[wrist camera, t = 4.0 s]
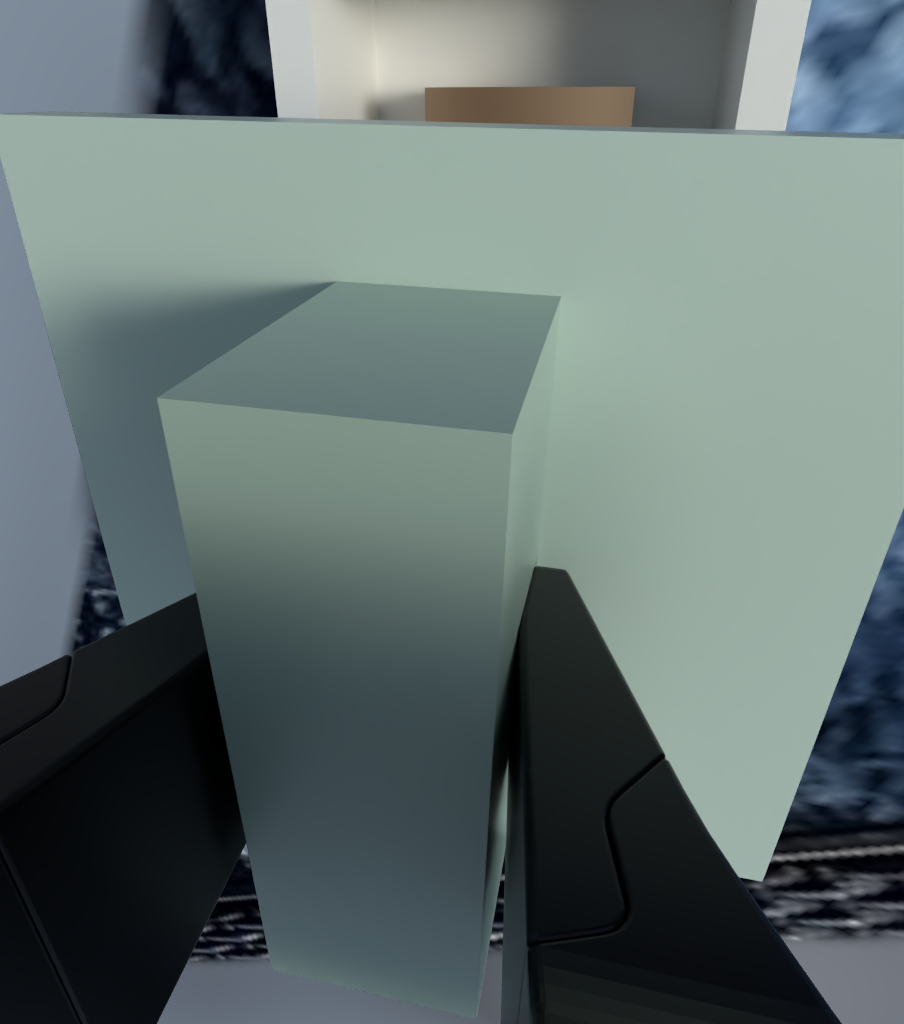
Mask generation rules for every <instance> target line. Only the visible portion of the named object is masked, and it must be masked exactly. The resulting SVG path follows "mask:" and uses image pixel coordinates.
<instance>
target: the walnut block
mask: <svg viewBox="0 0 904 1024" xmlns="http://www.w3.org/2000/svg"><path fill="white" fill-rule="evenodd" d="M634 97H635V86H624V87H428V88H425V121H429V122H467V123H505V124H543V125H581V126H619V127H631V125H632V115H633V106H634Z"/></svg>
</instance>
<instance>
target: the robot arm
mask: <svg viewBox="0 0 904 1024" xmlns="http://www.w3.org/2000/svg"><path fill="white" fill-rule="evenodd" d="M245 844H246V839H245V834H244V829H243V824H242V819H241V814H240V809H239V804H238V799H237V794H236V789H235V784H234V779H233V774H232V769H231V764H230V759H229V754H228V749H227V744H226V739H225V734H224V729H223V724H222V719H221V714H220V709H219V704H218V699H217V694H216V689H215V684H214V679H213V674H212V669H211V664H210V659H209V654H208V649H207V644H206V640H205V635H204V630H203V625H202V620H201V615H200V610H199V605H198V600H197V595H196V593H194V594H191V595H189V596H187V597H185V598H183V599H181V600H179V601H177V602H175V603H173V604H171V605H169V606H167V607H165V608H163V609H160V610H158V611H156V612H154V613H152V614H150V615H148V616H146V617H144V618H142V619H140V620H138V621H136V622H134V623H132V624H129V625H127V626H125V627H123V628H121V629H119V630H117V631H115V632H113V633H111V634H109V635H107V636H105V637H103V638H101V639H99V640H96V641H94V642H92V643H90V644H88V645H86V646H84V647H82V648H80V649H78V650H76V651H74V652H73V654H72V657H71V656H69V655H65V656H63V657H61V658H59V659H57V660H55V661H53V662H51V663H49V664H47V665H45V666H43V667H41V668H39V669H37V670H35V671H32V672H30V673H28V674H26V675H24V676H21V677H19V678H17V679H15V680H13V681H11V682H9V683H6V684H4V685H2V686H0V1024H157V1022H158V1020H159V1018H160V1016H161V1014H162V1012H163V1010H164V1008H165V1006H166V1004H167V1002H168V1000H169V998H170V996H171V994H172V992H173V990H174V988H175V986H176V984H177V982H178V980H179V978H180V976H181V974H182V972H183V970H184V968H185V966H186V964H187V961H188V959H189V957H190V955H191V953H192V951H193V949H194V947H195V945H196V943H197V941H198V939H199V937H200V935H201V933H202V931H203V929H204V927H205V925H206V923H207V921H208V919H209V917H210V915H211V913H212V911H213V909H214V907H215V905H216V903H217V901H218V899H219V897H220V895H221V893H222V891H223V889H224V887H225V884H226V882H227V880H228V878H229V876H230V874H231V872H232V870H233V868H234V866H235V864H236V862H237V860H238V858H239V856H240V854H241V852H242V850H243V848H244V846H245ZM501 999H502V1001H501V1024H842V1023H841V1022H840V1021H839V1019H838V1018H837V1017H836V1015H835V1014H834V1013H833V1011H832V1010H831V1008H830V1007H829V1005H828V1004H827V1003H826V1001H825V1000H824V998H823V997H822V995H821V994H820V993H819V991H818V990H817V988H816V987H815V985H814V984H813V983H812V981H811V980H810V978H809V977H808V975H807V974H806V973H805V971H804V970H803V968H802V967H801V965H800V964H799V963H798V961H797V960H796V958H795V957H794V955H793V954H792V953H791V951H790V950H789V948H788V947H787V946H786V944H785V943H784V941H783V940H782V938H781V937H780V935H779V934H778V933H777V931H776V930H775V928H774V927H773V925H772V924H771V923H770V921H769V920H768V918H767V917H766V915H765V914H764V913H763V911H762V910H761V908H760V907H759V905H758V904H757V903H756V901H755V900H754V898H753V897H752V895H751V894H750V893H749V891H748V890H747V888H746V887H745V885H744V884H743V883H742V881H741V880H740V878H739V877H738V875H737V874H736V872H735V871H734V869H733V868H732V866H731V865H730V863H729V862H728V860H727V859H726V857H725V856H724V854H723V853H722V851H721V850H720V848H719V847H718V845H717V844H716V842H715V841H714V839H713V838H712V836H711V835H710V833H709V832H708V830H707V828H706V826H705V825H704V823H703V821H702V820H701V818H700V816H699V814H698V813H697V811H696V809H695V807H694V806H693V804H692V802H691V801H690V799H689V797H688V795H687V794H686V792H685V790H684V788H683V786H682V785H681V783H680V781H679V779H678V777H677V775H676V773H675V771H674V769H673V767H672V766H671V764H670V762H669V761H668V760H666V756H665V753H664V751H663V749H662V748H661V746H660V744H659V742H658V740H657V738H656V736H655V734H654V732H653V731H652V729H651V727H650V725H649V723H648V721H647V719H646V717H645V716H644V714H643V712H642V710H641V708H640V706H639V704H638V702H637V701H636V699H635V697H634V695H633V693H632V691H631V689H630V687H629V686H628V684H627V682H626V680H625V678H624V676H623V674H622V672H621V671H620V669H619V667H618V665H617V663H616V661H615V659H614V657H613V656H612V654H611V652H610V650H609V648H608V646H607V644H606V642H605V640H604V639H603V637H602V635H601V633H600V631H599V629H598V627H597V625H596V624H595V622H594V620H593V618H592V616H591V614H590V612H589V610H588V609H587V607H586V605H585V603H584V601H583V599H582V597H581V595H580V594H579V592H578V590H577V588H576V586H575V584H574V582H573V580H572V579H571V577H570V575H569V573H568V572H567V571H566V570H564V569H559V568H551V567H543V566H536V567H534V570H533V574H532V578H531V582H530V586H529V590H528V594H527V597H526V601H525V605H524V609H523V613H522V617H521V622H520V626H519V632H518V644H517V657H516V669H515V682H514V695H513V708H512V721H511V733H510V746H509V759H508V789H507V824H506V859H505V893H504V928H503V964H502V997H501Z"/></svg>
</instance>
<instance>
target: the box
mask: <svg viewBox="0 0 904 1024" xmlns="http://www.w3.org/2000/svg"><path fill="white" fill-rule="evenodd" d="M265 3H266V12H267V21H268V30H269V39H270V48H271V57H272V67H273V76H274V85H275V94H276V103H277V112H278V118H314V119H353V120H391V121H425V88H428V87H624V86H635V97H634V106H633V115H632V125H631V127H657V128H695V129H733V130H772V131H785V129H786V124H787V119H788V114H789V109H790V104H791V99H792V94H793V89H794V84H795V79H796V74H797V69H798V64H799V59H800V54H801V50H802V45H803V40H804V35H805V30H806V25H807V20H808V15H809V10H810V5H811V0H265Z"/></svg>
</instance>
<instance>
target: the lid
mask: <svg viewBox="0 0 904 1024" xmlns="http://www.w3.org/2000/svg"><path fill="white" fill-rule="evenodd" d="M0 158H1V162H2V165H3V169H4V173H5V177H6V180H7V184H8V188H9V191H10V195H11V199H12V203H13V206H14V210H15V214H16V218H17V221H18V225H19V229H20V232H21V236H22V240H23V244H24V247H25V251H26V255H27V259H28V262H29V266H30V270H31V273H32V277H33V281H34V284H35V288H36V292H37V295H38V299H39V303H40V307H41V311H42V314H43V318H44V322H45V326H46V329H47V333H48V337H49V340H50V344H51V347H52V351H53V355H54V359H55V363H56V366H57V370H58V374H59V377H60V381H61V385H62V389H63V392H64V396H65V400H66V404H67V408H68V411H69V415H70V419H71V422H72V426H73V430H74V434H75V437H76V441H77V445H78V448H79V452H80V456H81V460H82V463H83V467H84V471H85V475H86V478H87V482H88V486H89V489H90V493H91V497H92V501H93V504H94V508H95V512H96V515H97V519H98V523H99V527H100V530H101V534H102V538H103V542H104V545H105V549H106V553H107V556H108V560H109V564H110V568H111V571H112V575H113V579H114V583H115V586H116V590H117V594H118V597H119V601H120V605H121V609H122V612H123V616H124V620H125V623H126V626H127V625H129V624H132V623H134V622H136V621H138V620H140V619H142V618H144V617H146V616H148V615H150V614H152V613H154V612H156V611H158V610H160V609H163V608H165V607H167V606H169V605H171V604H173V603H175V602H177V601H179V600H181V599H183V598H185V597H187V596H189V595H191V594H194V593H196V595H197V600H198V605H199V610H200V615H201V620H202V625H203V630H204V635H205V640H206V644H207V649H208V654H209V659H210V664H211V669H212V674H213V679H214V684H215V689H216V694H217V699H218V704H219V709H220V714H221V719H222V724H223V729H224V734H225V739H226V744H227V749H228V754H229V759H230V764H231V769H232V774H233V779H234V784H235V789H236V794H237V799H238V804H239V809H240V814H241V819H242V824H243V829H244V834H245V839H246V844H247V849H248V853H249V858H250V863H251V868H252V873H253V878H254V883H255V888H256V893H257V898H258V903H259V908H260V913H261V918H262V923H263V928H264V933H265V938H266V943H267V948H268V953H269V958H270V963H271V968H272V969H273V970H277V971H281V972H285V973H289V974H293V975H297V976H301V977H305V978H309V979H313V980H317V981H321V982H325V983H329V984H333V985H337V986H341V987H345V988H350V989H354V990H358V991H362V992H366V993H370V994H374V995H378V996H382V997H387V998H390V999H394V1000H398V1001H402V1002H407V1003H411V1004H415V1005H419V1006H423V1007H427V1008H431V1009H435V1010H439V1011H443V1012H447V1013H451V1014H455V1015H460V1016H464V1017H467V1018H471V1019H476V1017H477V1012H478V1006H479V1000H480V994H481V989H482V983H483V977H484V971H485V965H486V959H487V953H488V948H489V942H490V936H491V930H492V924H493V918H494V912H495V906H496V901H497V895H498V889H499V883H500V877H501V871H502V865H503V859H504V854H505V848H506V824H507V789H508V759H509V746H510V733H511V721H512V708H513V695H514V682H515V669H516V657H517V644H518V632H519V626H520V622H521V617H522V613H523V609H524V605H525V601H526V597H527V594H528V590H529V586H530V582H531V578H532V574H533V570H534V567H536V566H543V567H551V568H559V569H564V570H566V571H567V572H568V573H569V575H570V577H571V579H572V580H573V582H574V584H575V586H576V588H577V590H578V592H579V594H580V595H581V597H582V599H583V601H584V603H585V605H586V607H587V609H588V610H589V612H590V614H591V616H592V618H593V620H594V622H595V624H596V625H597V627H598V629H599V631H600V633H601V635H602V637H603V639H604V640H605V642H606V644H607V646H608V648H609V650H610V652H611V654H612V656H613V657H614V659H615V661H616V663H617V665H618V667H619V669H620V671H621V672H622V674H623V676H624V678H625V680H626V682H627V684H628V686H629V687H630V689H631V691H632V693H633V695H634V697H635V699H636V701H637V702H638V704H639V706H640V708H641V710H642V712H643V714H644V716H645V717H646V719H647V721H648V723H649V725H650V727H651V729H652V731H653V732H654V734H655V736H656V738H657V740H658V742H659V744H660V746H661V748H662V749H663V751H664V753H665V756H666V760H668V761H669V762H670V764H671V766H672V767H673V769H674V771H675V773H676V775H677V777H678V779H679V781H680V783H681V785H682V786H683V788H684V790H685V792H686V794H687V795H688V797H689V799H690V801H691V802H692V804H693V806H694V807H695V809H696V811H697V813H698V814H699V816H700V818H701V820H702V821H703V823H704V825H705V826H706V828H707V830H708V832H709V833H710V835H711V836H712V838H713V839H714V841H715V842H716V844H717V845H718V847H719V848H720V850H721V851H722V853H723V854H724V856H725V857H726V859H727V860H728V862H729V863H730V865H731V866H732V868H733V869H734V871H735V872H736V874H737V875H738V877H741V878H747V879H752V880H757V881H763V878H764V876H765V873H766V870H767V868H768V865H769V862H770V860H771V857H772V854H773V852H774V849H775V846H776V844H777V841H778V839H779V836H780V833H781V831H782V828H783V825H784V823H785V820H786V817H787V815H788V812H789V809H790V807H791V804H792V801H793V799H794V796H795V794H796V791H797V788H798V786H799V783H800V780H801V778H802V775H803V772H804V770H805V767H806V764H807V762H808V759H809V757H810V754H811V751H812V749H813V746H814V743H815V741H816V738H817V735H818V733H819V730H820V727H821V725H822V722H823V720H824V717H825V714H826V712H827V709H828V706H829V704H830V701H831V698H832V696H833V693H834V690H835V688H836V685H837V683H838V680H839V677H840V675H841V672H842V669H843V667H844V664H845V661H846V659H847V656H848V653H849V651H850V648H851V645H852V643H853V640H854V638H855V635H856V632H857V630H858V627H859V624H860V622H861V619H862V616H863V614H864V611H865V608H866V606H867V603H868V601H869V598H870V595H871V593H872V590H873V587H874V585H875V582H876V579H877V577H878V574H879V571H880V569H881V566H882V564H883V561H884V558H885V556H886V553H887V550H888V548H889V545H890V542H891V540H892V537H893V534H894V532H895V529H896V527H897V524H898V521H899V519H900V516H901V513H902V511H903V508H904V134H886V133H848V132H810V131H772V130H733V129H695V128H657V127H619V126H581V125H543V124H505V123H467V122H429V121H391V120H353V119H314V118H276V117H238V116H200V115H162V114H124V113H84V112H30V113H4V114H0Z"/></svg>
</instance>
